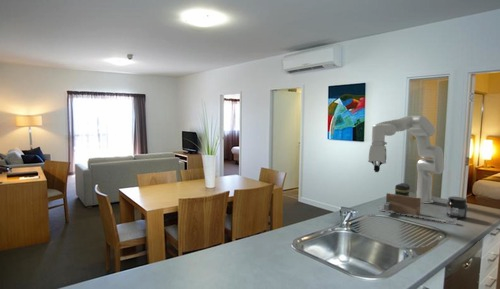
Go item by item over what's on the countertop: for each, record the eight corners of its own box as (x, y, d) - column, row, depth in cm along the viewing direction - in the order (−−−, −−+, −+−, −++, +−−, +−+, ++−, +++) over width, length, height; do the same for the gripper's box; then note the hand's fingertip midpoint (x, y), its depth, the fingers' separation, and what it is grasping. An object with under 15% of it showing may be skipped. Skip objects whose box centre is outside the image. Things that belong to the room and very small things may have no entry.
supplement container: (460, 214, 197) (461, 196, 196) (470, 220, 187) (471, 200, 186) (442, 214, 198) (444, 195, 197) (452, 219, 188) (453, 200, 187)
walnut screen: (386, 209, 204) (387, 193, 203) (419, 215, 192) (420, 197, 191) (382, 212, 196) (383, 196, 195) (417, 219, 184) (418, 201, 183)
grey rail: (380, 209, 207) (380, 205, 206) (456, 223, 181) (456, 218, 180) (378, 210, 204) (379, 206, 204) (456, 224, 178) (456, 219, 178)
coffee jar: (404, 214, 198) (406, 185, 196) (392, 211, 203) (393, 183, 202) (410, 210, 204) (411, 183, 203) (397, 208, 210) (399, 181, 208)
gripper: (391, 144, 195) (390, 172, 197) (367, 142, 204) (366, 169, 206) (389, 144, 189) (387, 174, 191) (364, 143, 198) (363, 171, 200)
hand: (376, 171), depth 198 cm, fingers closed
